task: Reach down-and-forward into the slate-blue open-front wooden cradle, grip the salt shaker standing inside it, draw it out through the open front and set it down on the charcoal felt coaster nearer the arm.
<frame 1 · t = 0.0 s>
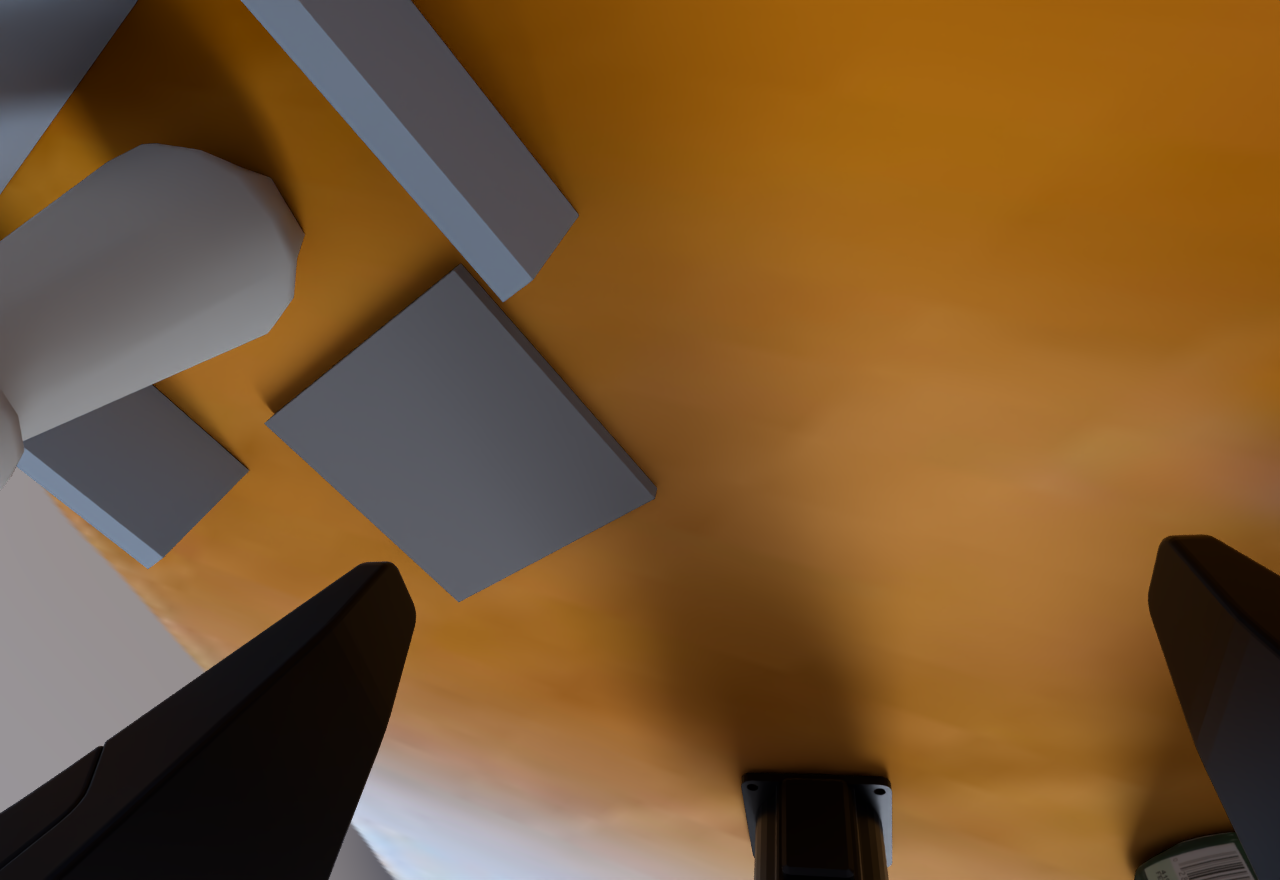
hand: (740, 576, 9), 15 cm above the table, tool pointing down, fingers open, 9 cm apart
coffee jar: (1236, 878, 34), on the table
cradle: (240, 225, 24), on the table
coaster: (462, 451, 28), on the table
salt shaker: (244, 223, 24), on the table
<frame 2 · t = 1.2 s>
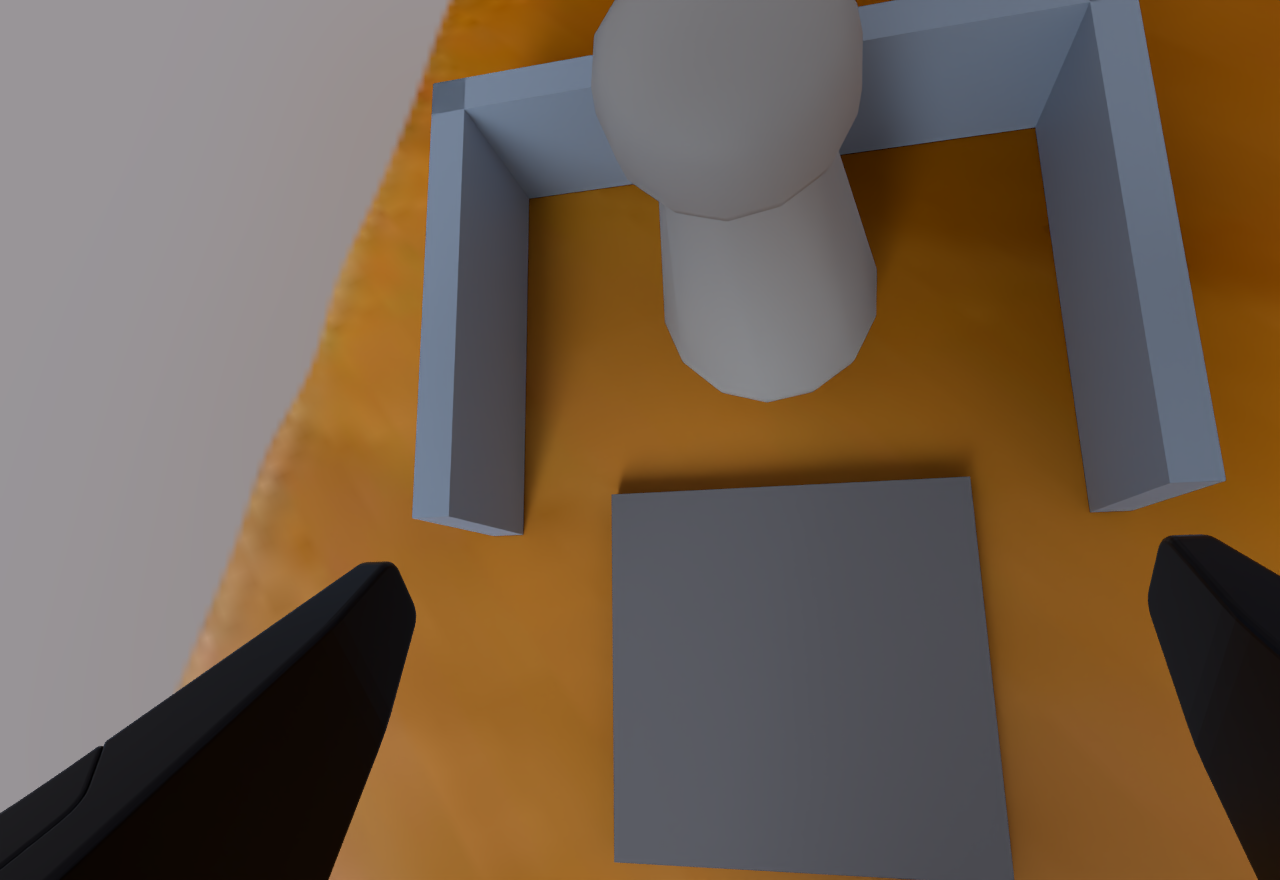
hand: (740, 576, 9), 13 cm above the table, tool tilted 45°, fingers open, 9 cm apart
cradle: (773, 327, 24), on the table
coaster: (793, 667, 21), on the table
salt shaker: (773, 330, 24), on the table
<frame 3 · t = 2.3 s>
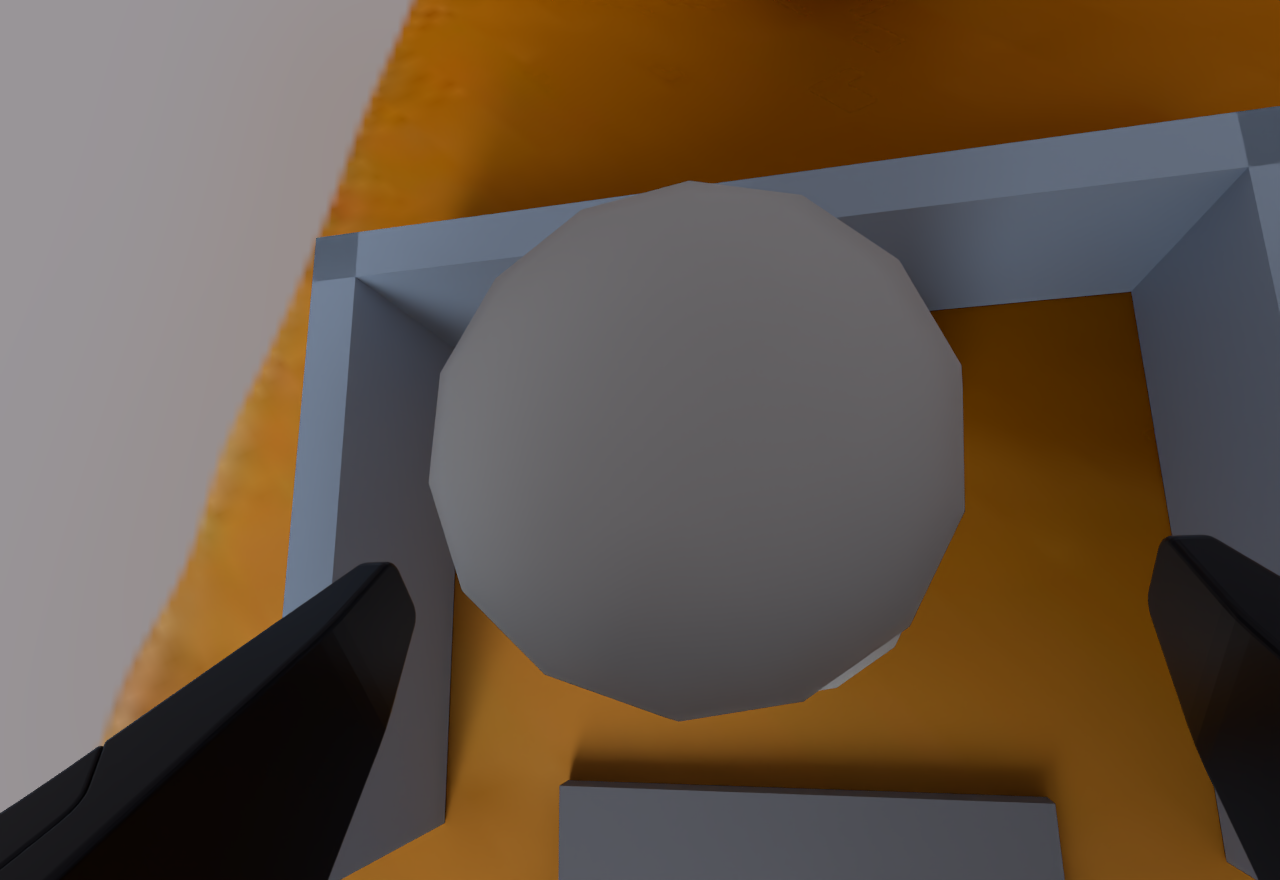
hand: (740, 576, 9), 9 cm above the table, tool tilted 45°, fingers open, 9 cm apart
cradle: (778, 553, 18), on the table
salt shaker: (778, 553, 18), on the table
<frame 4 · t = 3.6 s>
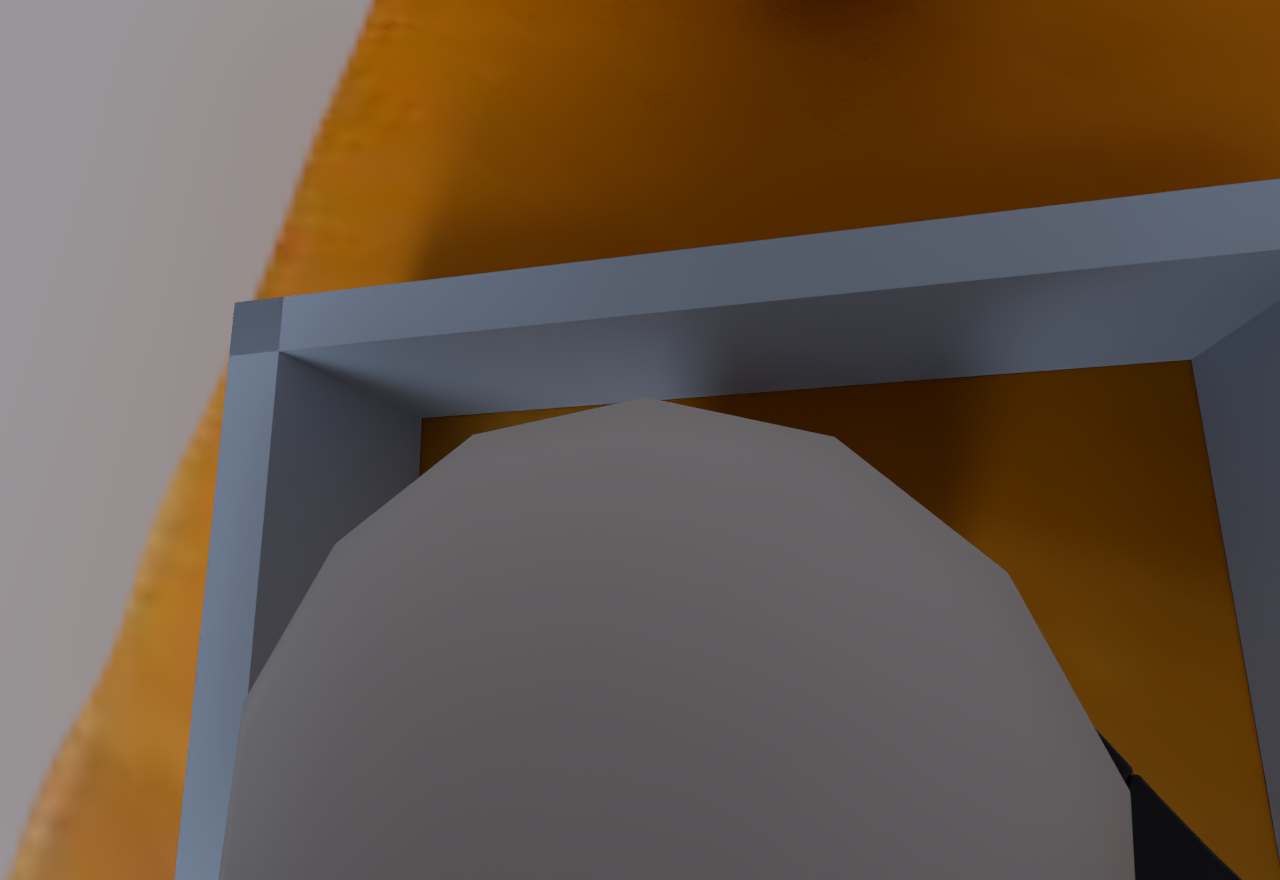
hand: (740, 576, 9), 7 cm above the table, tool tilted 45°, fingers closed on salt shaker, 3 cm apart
cradle: (779, 660, 15), on the table
salt shaker: (779, 660, 15), on the table, touching gripper
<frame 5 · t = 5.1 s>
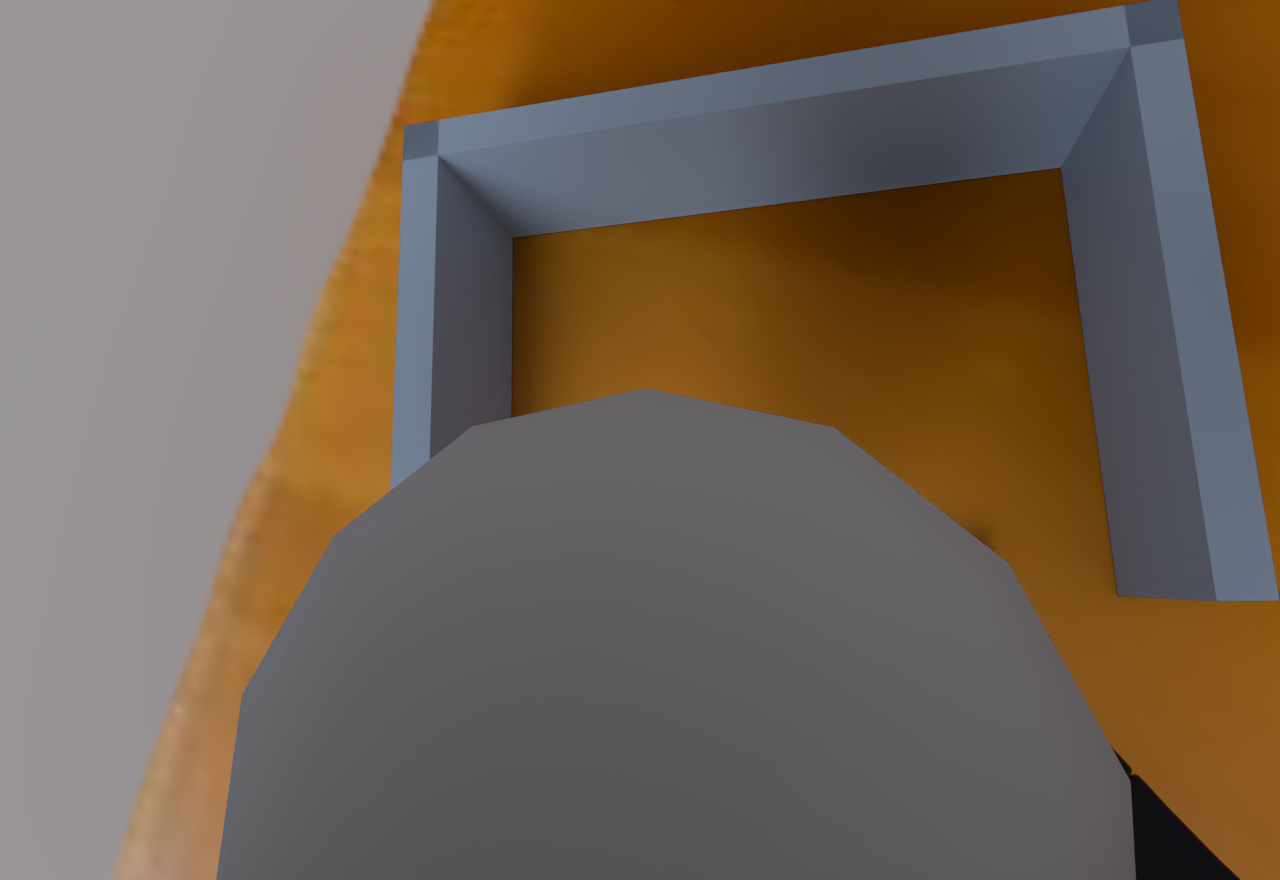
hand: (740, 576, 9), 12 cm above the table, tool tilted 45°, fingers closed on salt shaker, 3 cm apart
cradle: (775, 385, 22), on the table
salt shaker: (779, 656, 15), point 5 cm above the table, touching gripper
when the fingers open (7 cm above the table, at t = 6.6 s): salt shaker stays where it is, resting on coaster.
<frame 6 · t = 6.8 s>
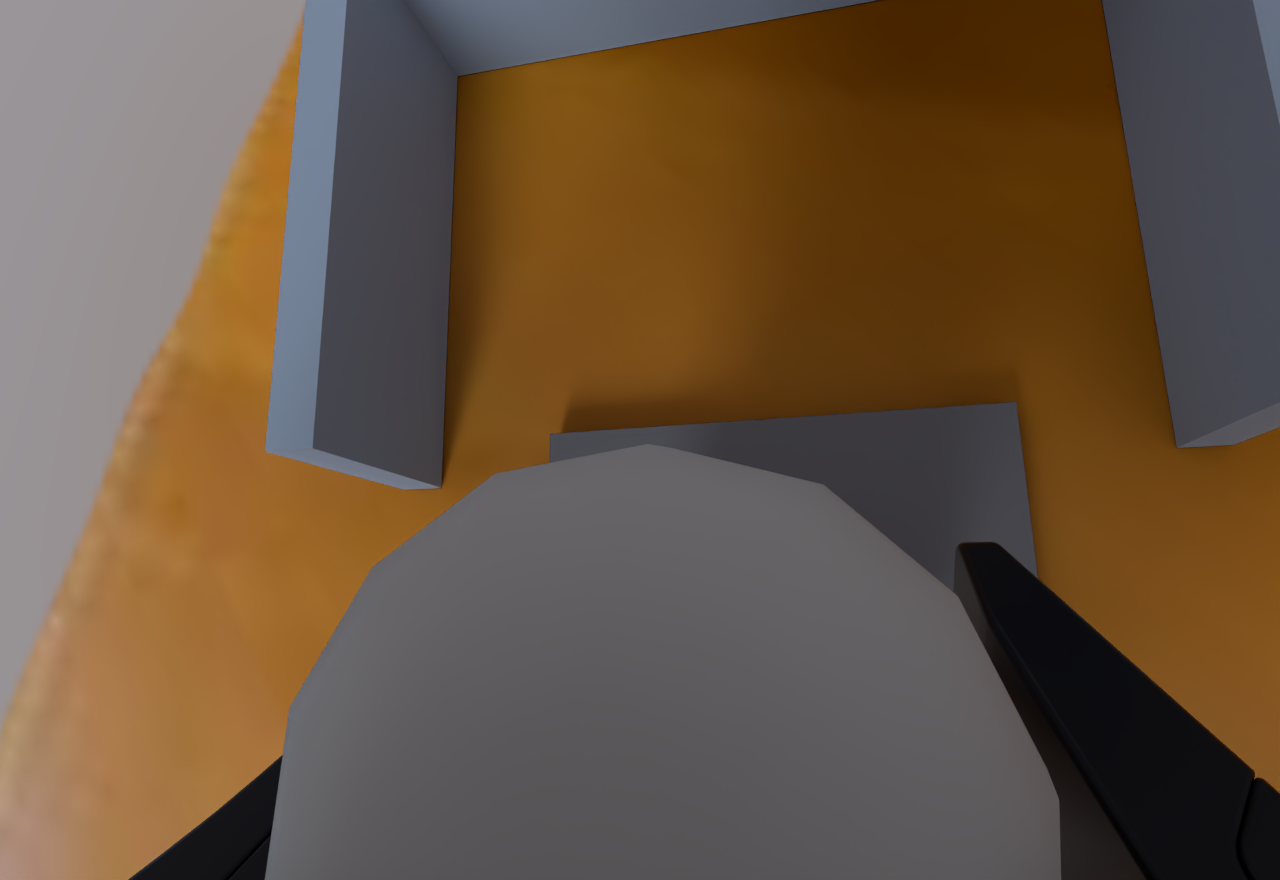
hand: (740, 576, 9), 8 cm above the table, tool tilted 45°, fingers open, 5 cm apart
cradle: (758, 222, 18), on the table
coaster: (782, 655, 16), on the table
salt shaker: (780, 668, 16), resting on coaster
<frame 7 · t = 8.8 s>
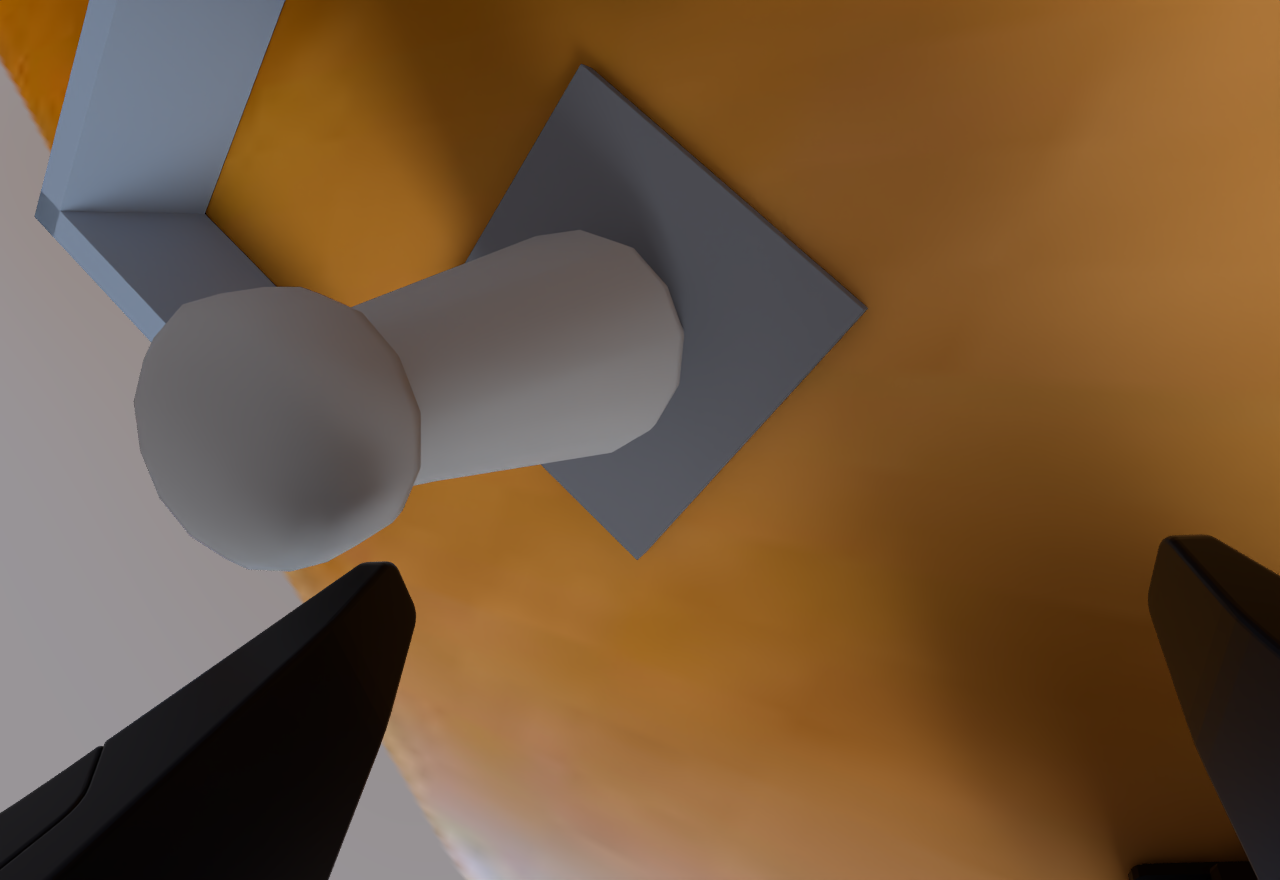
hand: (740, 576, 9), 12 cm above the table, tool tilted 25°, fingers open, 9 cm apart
cradle: (393, 116, 24), on the table
coaster: (620, 326, 23), on the table
salt shaker: (619, 334, 22), resting on coaster
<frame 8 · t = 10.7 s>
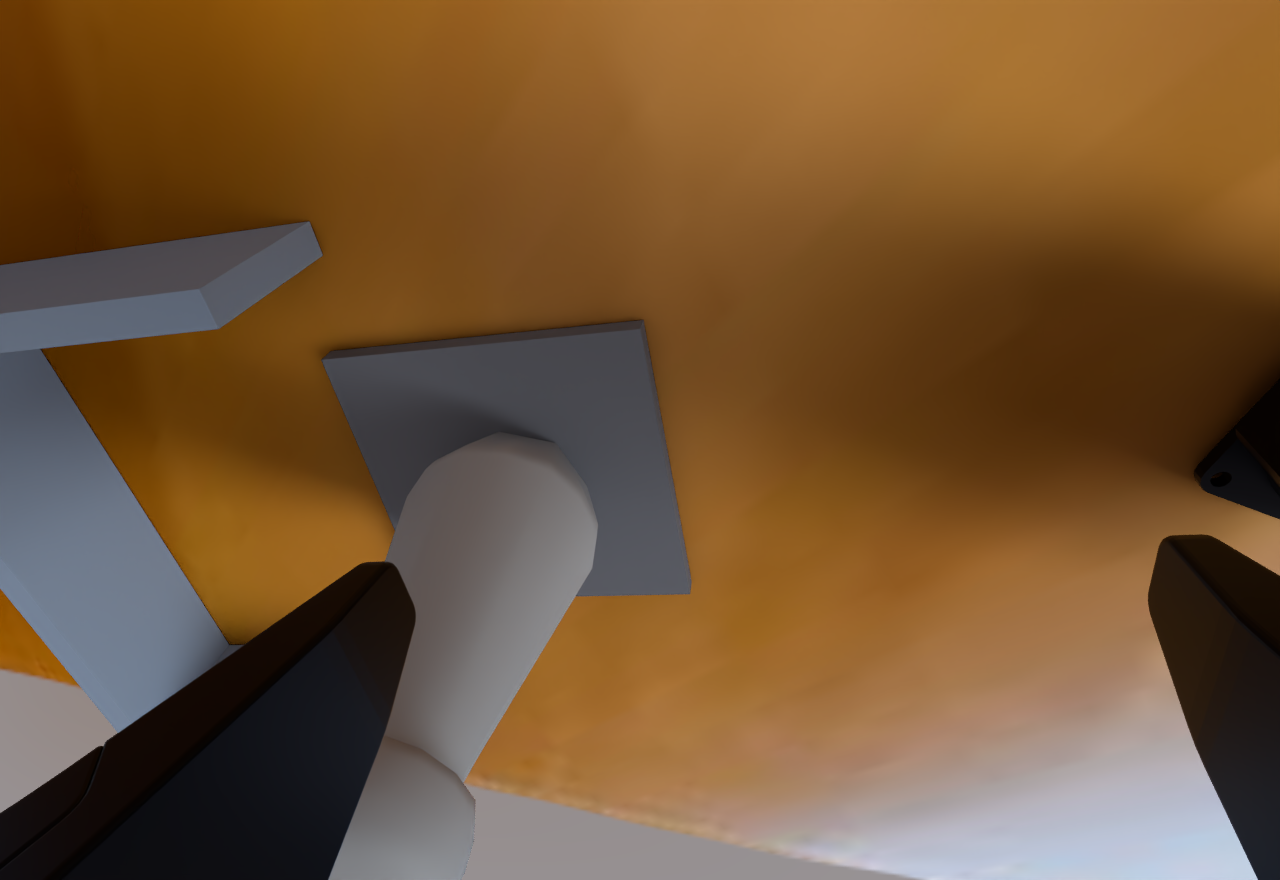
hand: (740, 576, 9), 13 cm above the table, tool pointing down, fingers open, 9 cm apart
cradle: (260, 488, 28), on the table
coaster: (521, 473, 26), on the table
salt shaker: (525, 480, 25), resting on coaster
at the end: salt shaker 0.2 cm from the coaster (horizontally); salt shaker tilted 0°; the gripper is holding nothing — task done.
